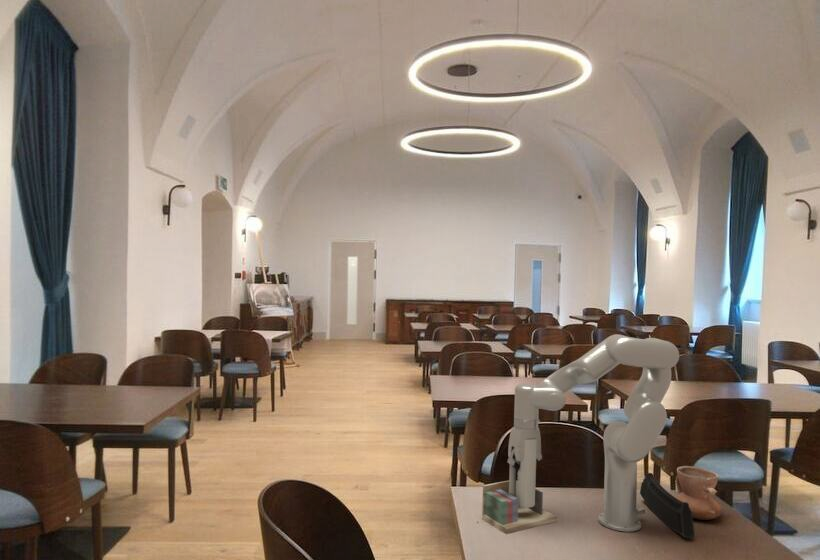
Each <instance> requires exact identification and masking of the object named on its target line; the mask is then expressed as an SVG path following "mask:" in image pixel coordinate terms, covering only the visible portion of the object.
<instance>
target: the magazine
mask: <svg viewBox="0 0 820 560" xmlns="http://www.w3.org/2000/svg"><path fill="white" fill-rule="evenodd" d="M639 495H640V496H641V498H642V499H643V500H644V502H645V503H646V505H647V506H648V507H649V508H650V510H651V511H652V512H653V514H654V515H655V516H656V517H657V518H658V519H659V520H660V521H661V522H662V523H663V524H665V525H666V526H667V527H668V528H669V529H671V530H673V532H675V533H678V534H679V535H681V536H682V537H683V538H686V539H693V538H695V537H696V536H695V535H696V534H695V529H694V521H693V520H694V518H692V511H691V510H690V508H689V504H688V503H687V502H682V501H680V500H678V499H677V498H675V497H674V496H675V495H672V494H671V493H670V492H669V491H667V490H666V489H665V488H664V487H663V486H662V484H660V482H659V481H658V480H657V479H656V477H655V476H654V474H653V473H652V472H647V473H646V475H645V477H644V478H643V480H642V482H641V485H640V491H639Z"/></svg>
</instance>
